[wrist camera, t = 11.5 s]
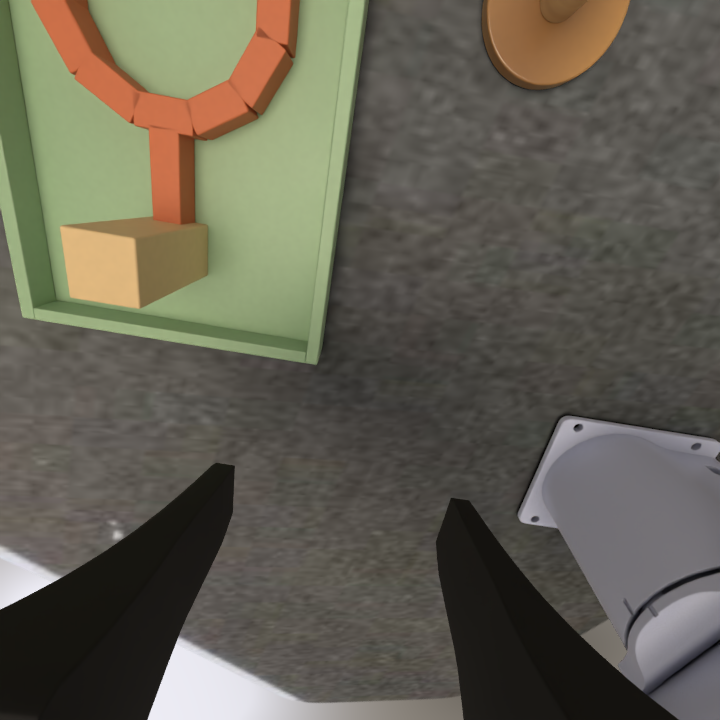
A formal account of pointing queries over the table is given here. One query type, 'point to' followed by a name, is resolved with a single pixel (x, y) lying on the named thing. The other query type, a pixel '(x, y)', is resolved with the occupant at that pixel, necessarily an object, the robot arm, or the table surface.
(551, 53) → the peg stand
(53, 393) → the table surface
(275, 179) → the tray
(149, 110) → the ring
